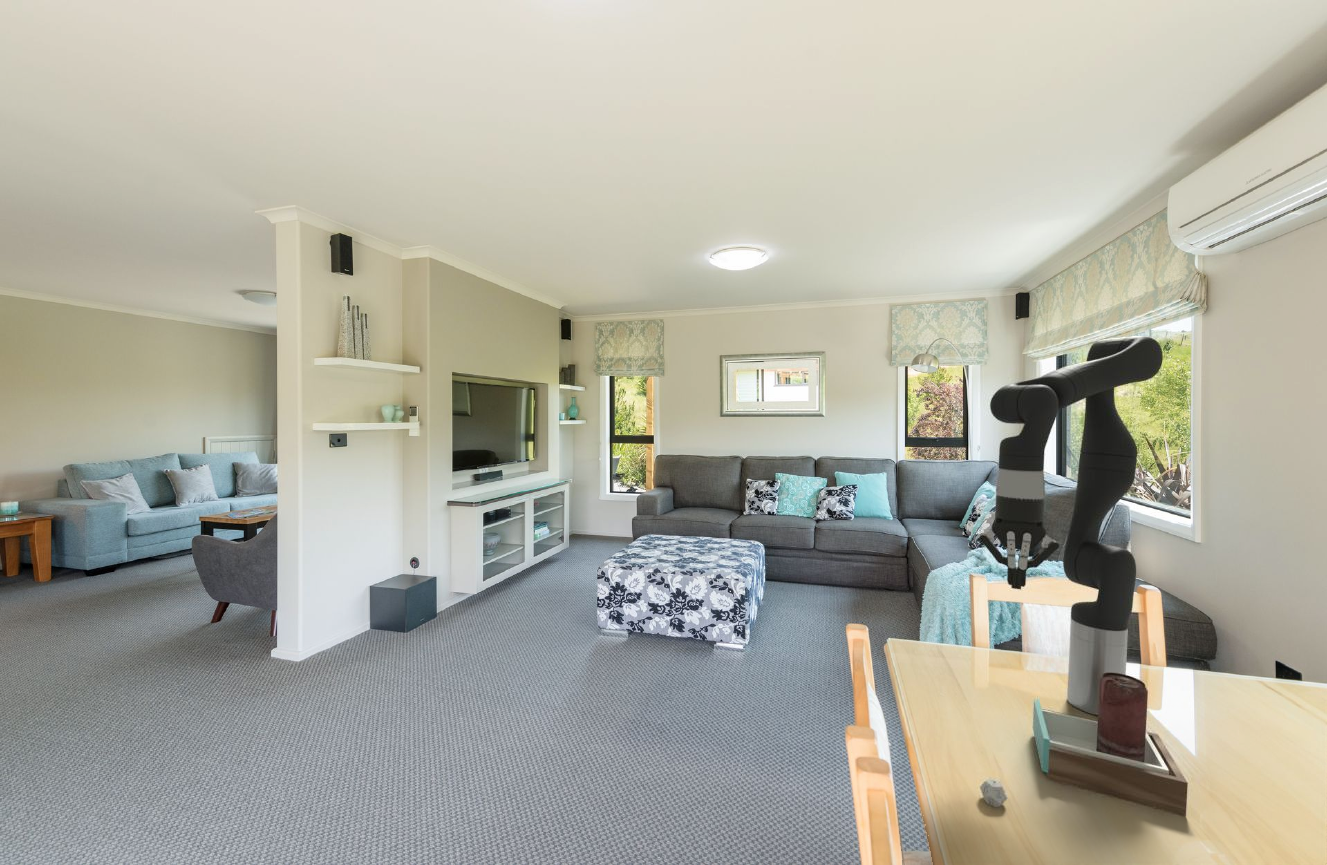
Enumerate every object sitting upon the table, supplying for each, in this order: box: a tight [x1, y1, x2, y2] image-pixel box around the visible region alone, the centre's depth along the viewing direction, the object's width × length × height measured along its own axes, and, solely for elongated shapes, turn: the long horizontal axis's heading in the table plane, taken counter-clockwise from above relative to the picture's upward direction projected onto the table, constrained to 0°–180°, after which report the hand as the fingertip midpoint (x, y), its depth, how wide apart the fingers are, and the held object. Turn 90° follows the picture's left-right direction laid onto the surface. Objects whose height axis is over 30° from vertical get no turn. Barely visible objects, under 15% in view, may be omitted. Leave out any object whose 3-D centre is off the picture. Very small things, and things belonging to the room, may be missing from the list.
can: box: [1096, 672, 1149, 763], centre depth 93 cm, size 6×6×14 cm
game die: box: [979, 777, 1008, 808], centre depth 86 cm, size 4×4×3 cm
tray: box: [1032, 698, 1169, 775], centre depth 95 cm, size 15×16×5 cm
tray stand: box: [1042, 708, 1188, 817], centre depth 95 cm, size 15×17×5 cm
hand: (1015, 587), depth 105 cm, fingers closed
